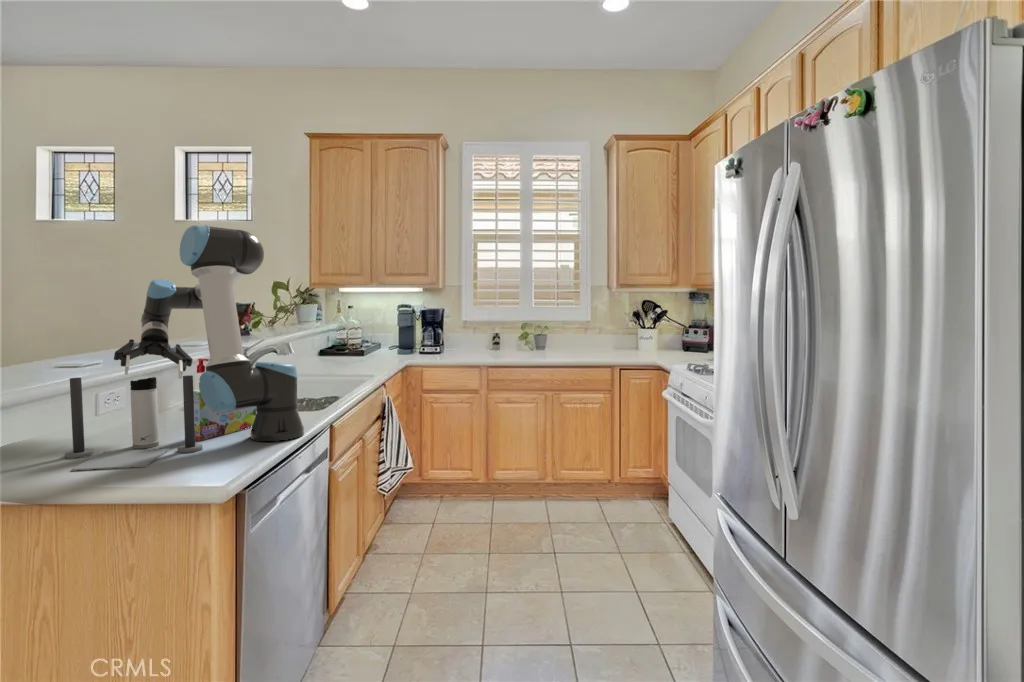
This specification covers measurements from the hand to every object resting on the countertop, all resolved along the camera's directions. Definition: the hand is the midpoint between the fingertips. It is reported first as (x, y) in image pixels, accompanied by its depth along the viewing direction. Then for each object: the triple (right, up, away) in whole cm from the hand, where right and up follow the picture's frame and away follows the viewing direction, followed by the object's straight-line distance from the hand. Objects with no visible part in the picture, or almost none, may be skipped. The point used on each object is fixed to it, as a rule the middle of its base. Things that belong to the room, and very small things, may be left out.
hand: (154, 373), depth 161 cm
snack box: (+16, -20, +10) cm, 27 cm away
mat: (+5, -22, -20) cm, 30 cm away
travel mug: (+2, -21, -6) cm, 22 cm away
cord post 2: (+17, -21, -10) cm, 29 cm away
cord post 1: (-9, -21, -16) cm, 28 cm away
